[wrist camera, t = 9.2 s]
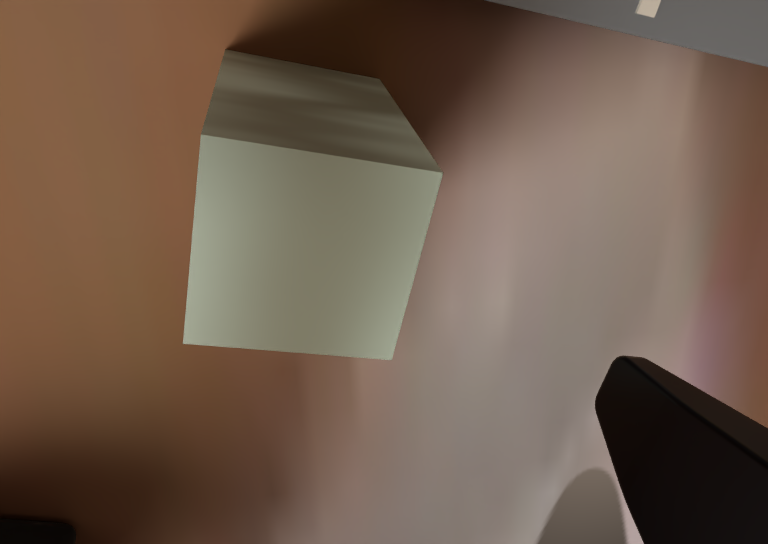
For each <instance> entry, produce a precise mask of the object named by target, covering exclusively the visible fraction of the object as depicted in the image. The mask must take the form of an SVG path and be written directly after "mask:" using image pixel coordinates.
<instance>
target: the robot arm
mask: <svg viewBox="0 0 768 544" xmlns="http://www.w3.org/2000/svg"><path fill="white" fill-rule="evenodd" d="M595 409H596V414H597V417H598V420H599V423H600V426H601V429H602V432H603V435H604V438H605V441H606V444H607V448H608V451H609V454H610V457H611V460H612V463H613V466H614V469H615V472H616V475H617V478H618V481H619V484H620V487H621V490H622V493H623V495H624V498H625V501H626V503H627V506H628V508H629V510H630V513H631V515H632V518H633V520H634V522H635V524H636V527H637V529H638V531H639V533H640V536H641V538H642V540H643V543H644V544H768V428H766V427H764V426H763V425H761V424H759V423H757V422H756V421H754V420H752V419H750V418H749V417H747V416H745V415H743V414H742V413H740V412H738V411H736V410H735V409H733V408H731V407H729V406H728V405H726V404H724V403H722V402H721V401H719V400H717V399H715V398H714V397H712V396H710V395H709V394H707V393H705V392H703V391H702V390H700V389H698V388H696V387H695V386H693V385H691V384H689V383H688V382H686V381H684V380H682V379H681V378H679V377H677V376H675V375H674V374H672V373H670V372H668V371H667V370H665V369H663V368H661V367H660V366H658V365H656V364H654V363H653V362H651V361H649V360H647V359H645V358H642V357H633V356H619V357H617V358H616V359H615V360H614V361H613V362H612V364H611V366H610V368H609V370H608V372H607V374H606V377H605V379H604V381H603V383H602V385H601V387H600V389H599V391H598V393H597V396H596V400H595Z"/></svg>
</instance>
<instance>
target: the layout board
mask: <svg viewBox="0 0 768 544" xmlns="http://www.w3.org/2000/svg"><path fill="white" fill-rule="evenodd" d="M486 1H490V2H494V3H499V4H503V5H507V6H511V7H516V8H520V9H524V10H528V11H533V12H537V13H541V14H545V15H550V16H554V17H558V18H562V19H567V20H571V21H575V22H579V23H584V24H588V25H592V26H596V27H601V28H605V29H609V30H613V31H617V32H622V33H626V34H630V35H634V36H639V37H643V38H647V39H651V40H656V41H660V42H664V43H668V44H673V45H677V46H681V47H685V48H690V49H694V50H698V51H702V52H707V53H711V54H715V55H719V56H724V57H728V58H732V59H736V60H741V61H745V62H749V63H753V64H758V65H762V66H766V67H768V0H486Z"/></svg>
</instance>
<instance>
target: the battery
mask: <svg viewBox="0 0 768 544" xmlns="http://www.w3.org/2000/svg"><path fill="white" fill-rule="evenodd" d="M75 540H76V532H75V530H74V528H73V527H72V526H70V525H68V524H62V523H52V522H39V521H26V520H13V519H0V544H75Z"/></svg>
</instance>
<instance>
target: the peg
mask: <svg viewBox="0 0 768 544" xmlns="http://www.w3.org/2000/svg"><path fill="white" fill-rule="evenodd" d="M442 175H443V172H442V170H441V169H440V167H439V166H438V164H437V163H436V162H435V160H434V159H433V157H432V156H431V154H430V153H429V151H428V150H427V148H426V147H425V145H424V144H423V142H422V141H421V139H420V138H419V136H418V135H417V134H416V132H415V131H414V129H413V128H412V126H411V125H410V123H409V122H408V120H407V119H406V117H405V116H404V114H403V113H402V111H401V110H400V108H399V107H398V105H397V104H396V103H395V101H394V100H393V98H392V97H391V95H390V94H389V92H388V91H387V89H386V88H385V86H384V85H383V83H382V82H381V80H380V79H377V78H372V77H367V76H361V75H356V74H351V73H346V72H341V71H335V70H330V69H325V68H320V67H315V66H309V65H304V64H299V63H294V62H289V61H283V60H278V59H273V58H268V57H263V56H257V55H252V54H247V53H242V52H237V51H231V50H226V49H225V53H224V56H223V60H222V63H221V67H220V70H219V74H218V77H217V80H216V84H215V87H214V91H213V94H212V98H211V101H210V105H209V108H208V112H207V115H206V119H205V122H204V126H203V129H202V133H201V140H200V152H199V164H198V175H197V187H196V199H195V210H194V222H193V234H192V245H191V257H190V269H189V280H188V292H187V304H186V315H185V327H184V339H183V344H195V345H207V346H220V347H233V348H245V349H258V350H270V351H283V352H296V353H308V354H321V355H333V356H346V357H359V358H371V359H384V360H392V357H393V353H394V349H395V346H396V342H397V338H398V335H399V331H400V328H401V324H402V320H403V317H404V313H405V309H406V306H407V302H408V299H409V295H410V291H411V288H412V284H413V280H414V277H415V273H416V270H417V266H418V262H419V259H420V255H421V251H422V248H423V244H424V241H425V237H426V233H427V230H428V226H429V222H430V219H431V215H432V212H433V208H434V204H435V201H436V197H437V193H438V190H439V186H440V183H441V179H442Z"/></svg>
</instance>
